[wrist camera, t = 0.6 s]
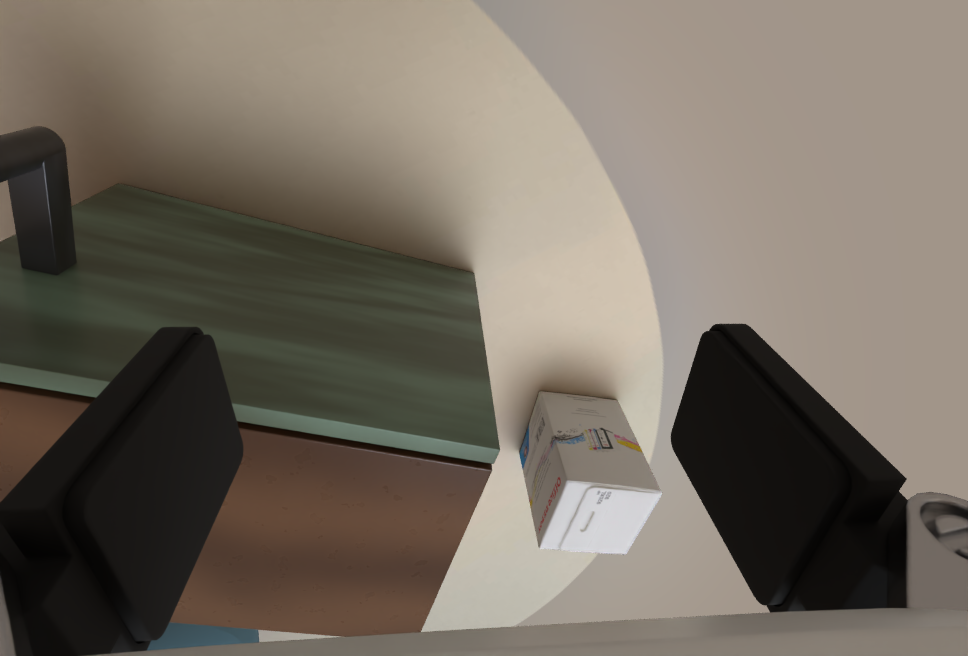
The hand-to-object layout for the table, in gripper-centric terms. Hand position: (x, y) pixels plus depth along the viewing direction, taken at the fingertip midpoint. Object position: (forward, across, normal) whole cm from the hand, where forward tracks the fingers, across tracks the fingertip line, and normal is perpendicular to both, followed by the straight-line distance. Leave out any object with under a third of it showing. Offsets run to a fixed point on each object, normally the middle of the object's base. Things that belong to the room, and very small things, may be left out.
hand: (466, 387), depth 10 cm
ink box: (+30, -12, +28) cm, 43 cm away
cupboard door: (+30, +10, +5) cm, 32 cm away
